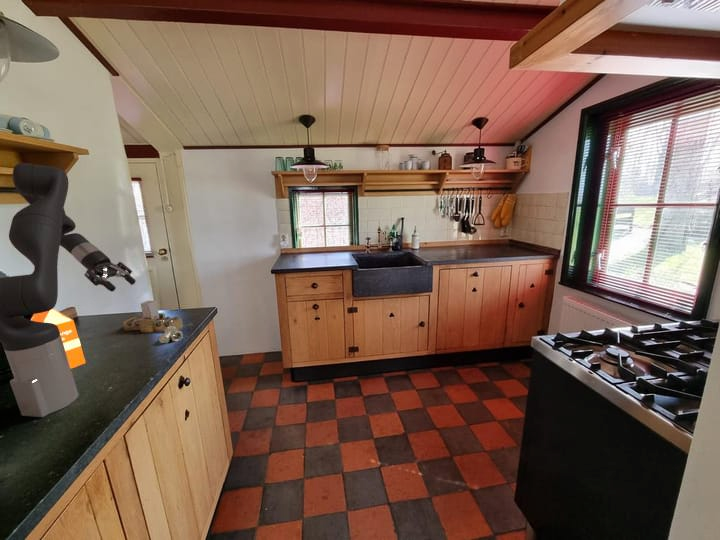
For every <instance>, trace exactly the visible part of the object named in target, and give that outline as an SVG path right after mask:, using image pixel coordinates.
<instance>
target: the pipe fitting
mask: <svg viewBox="0 0 720 540" xmlns="http://www.w3.org/2000/svg"><path fill="white" fill-rule="evenodd" d="M183 335H184V334H183V332H182V331H181V330H179V329H178V330H177V329H176V327H175V326H168V327H167V328H166V329H165V332H164V333H163V334H161V335H160V336H159V337H158V340H159V343H161V344H162V343H166V344H168V343H169V342H170V341H172V342H179V340H180V341H181V340H182V339H183V338H184V336H183Z"/></svg>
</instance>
